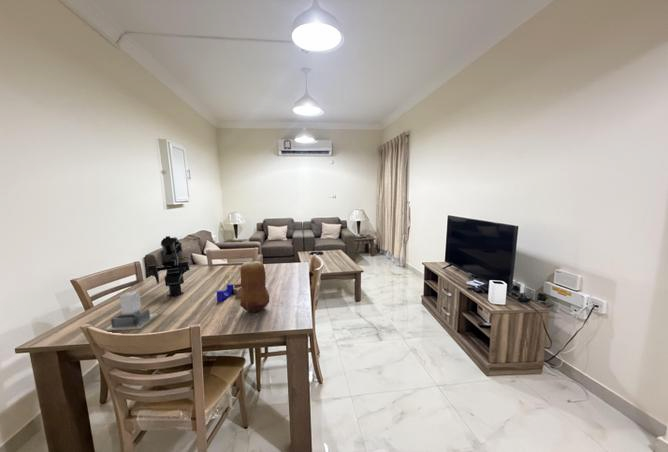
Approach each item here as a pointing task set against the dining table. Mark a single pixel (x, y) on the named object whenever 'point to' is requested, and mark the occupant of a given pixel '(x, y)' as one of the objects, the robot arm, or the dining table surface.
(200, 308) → the dining table surface
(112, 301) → the dining table surface
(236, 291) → the wooden block set
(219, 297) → the cable clip
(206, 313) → the dining table surface
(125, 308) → the white upright block
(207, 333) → the dining table surface
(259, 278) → the butternut squash
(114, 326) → the keeper bracket
